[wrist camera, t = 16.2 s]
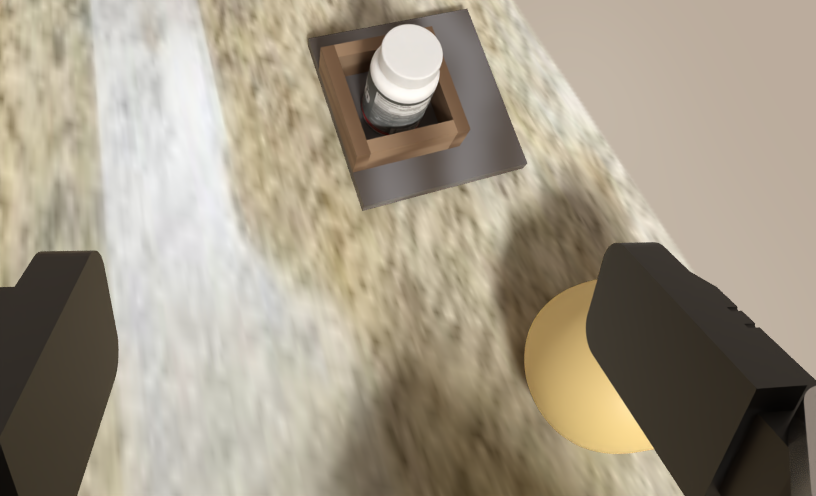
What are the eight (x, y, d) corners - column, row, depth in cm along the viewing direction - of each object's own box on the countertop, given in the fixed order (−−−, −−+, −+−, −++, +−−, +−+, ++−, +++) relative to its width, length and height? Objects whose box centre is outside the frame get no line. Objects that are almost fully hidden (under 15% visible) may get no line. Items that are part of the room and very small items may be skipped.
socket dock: (362, 210, 46) (369, 192, 42) (308, 45, 48) (309, 14, 45) (522, 168, 49) (542, 147, 45) (463, 16, 52) (477, -16, 48)
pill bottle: (373, 73, 48) (390, 5, 40) (430, 97, 48) (458, 35, 40) (351, 124, 46) (364, 64, 38) (409, 149, 47) (434, 95, 39)
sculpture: (677, 426, 46) (788, 431, 36) (530, 466, 43) (605, 483, 33) (633, 278, 49) (725, 243, 38) (491, 307, 46) (549, 277, 36)
